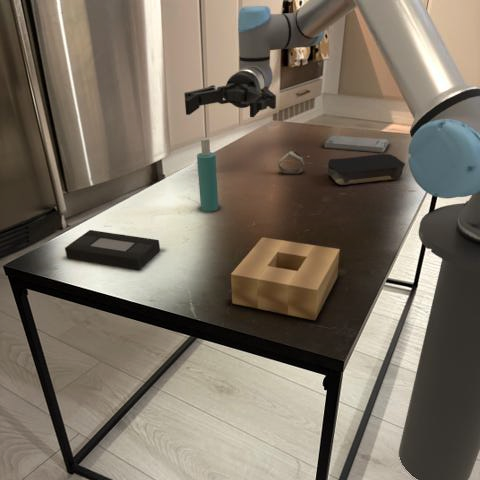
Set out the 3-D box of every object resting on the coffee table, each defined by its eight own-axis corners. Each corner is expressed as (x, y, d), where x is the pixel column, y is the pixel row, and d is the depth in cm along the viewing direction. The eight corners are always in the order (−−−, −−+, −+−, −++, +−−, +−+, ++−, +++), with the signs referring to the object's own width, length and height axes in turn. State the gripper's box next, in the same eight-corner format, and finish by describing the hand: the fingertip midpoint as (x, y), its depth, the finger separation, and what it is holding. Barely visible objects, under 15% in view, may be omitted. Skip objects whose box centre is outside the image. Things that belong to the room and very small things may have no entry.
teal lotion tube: (221, 206, 104) (217, 137, 96) (213, 212, 102) (209, 142, 94) (205, 204, 106) (200, 135, 98) (198, 210, 103) (192, 140, 95)
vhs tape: (91, 239, 93) (89, 229, 92) (160, 250, 89) (159, 240, 88) (67, 258, 87) (64, 247, 86) (139, 270, 83) (137, 259, 82)
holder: (337, 277, 79) (339, 249, 76) (315, 320, 70) (317, 289, 67) (262, 264, 83) (262, 237, 81) (232, 303, 74) (230, 273, 71)
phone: (383, 152, 131) (384, 147, 130) (323, 147, 136) (323, 142, 135) (388, 144, 137) (389, 139, 136) (330, 139, 142) (331, 134, 141)
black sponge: (388, 168, 121) (390, 153, 118) (404, 180, 114) (407, 163, 112) (323, 175, 118) (324, 159, 116) (336, 187, 111) (337, 171, 109)
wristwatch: (304, 174, 119) (305, 153, 116) (278, 175, 119) (279, 154, 116) (302, 169, 122) (303, 148, 119) (277, 170, 122) (277, 150, 119)
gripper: (297, 106, 118) (279, 130, 101) (196, 103, 123) (163, 125, 107) (298, 71, 113) (280, 90, 97) (193, 69, 119) (159, 87, 102)
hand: (218, 109), depth 102 cm, fingers open, 13 cm apart
